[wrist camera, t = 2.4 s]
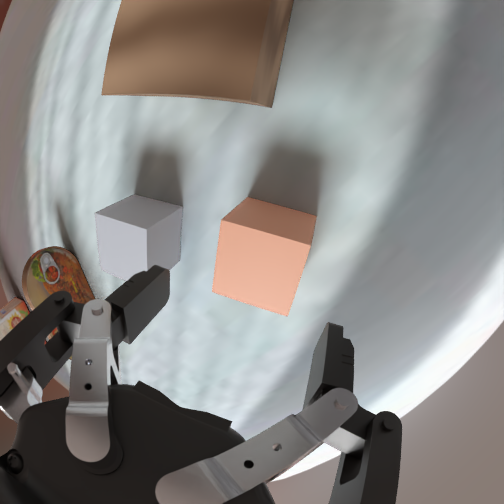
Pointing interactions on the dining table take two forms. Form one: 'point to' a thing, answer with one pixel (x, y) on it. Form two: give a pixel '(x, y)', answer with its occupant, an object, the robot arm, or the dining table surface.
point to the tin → (54, 278)
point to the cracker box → (12, 316)
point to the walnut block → (198, 49)
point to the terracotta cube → (262, 254)
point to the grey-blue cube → (138, 235)
